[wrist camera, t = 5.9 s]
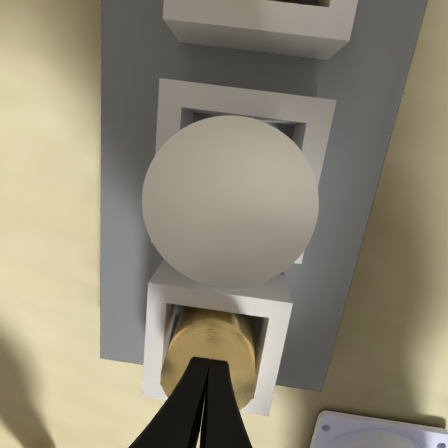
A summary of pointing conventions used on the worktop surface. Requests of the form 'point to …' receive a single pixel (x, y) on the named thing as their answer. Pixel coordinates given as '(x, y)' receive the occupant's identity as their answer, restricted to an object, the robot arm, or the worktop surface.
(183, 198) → the white middle knob
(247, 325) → the brass knob
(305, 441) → the worktop surface
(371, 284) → the worktop surface
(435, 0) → the worktop surface
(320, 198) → the knob mount
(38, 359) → the worktop surface
